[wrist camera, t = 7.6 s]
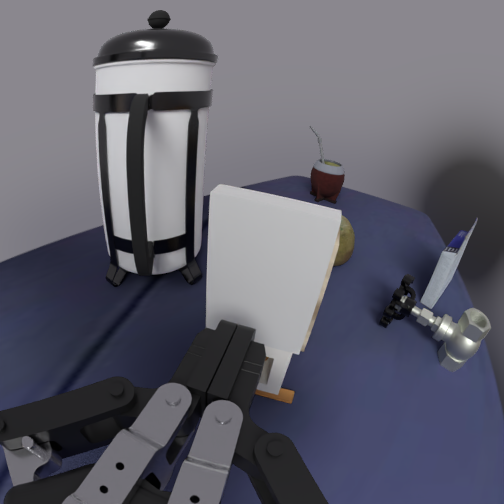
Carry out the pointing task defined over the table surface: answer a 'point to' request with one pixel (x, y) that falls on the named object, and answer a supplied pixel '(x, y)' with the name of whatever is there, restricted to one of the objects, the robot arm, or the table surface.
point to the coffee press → (153, 147)
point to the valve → (441, 326)
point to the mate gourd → (326, 177)
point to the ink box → (445, 268)
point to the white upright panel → (267, 269)
